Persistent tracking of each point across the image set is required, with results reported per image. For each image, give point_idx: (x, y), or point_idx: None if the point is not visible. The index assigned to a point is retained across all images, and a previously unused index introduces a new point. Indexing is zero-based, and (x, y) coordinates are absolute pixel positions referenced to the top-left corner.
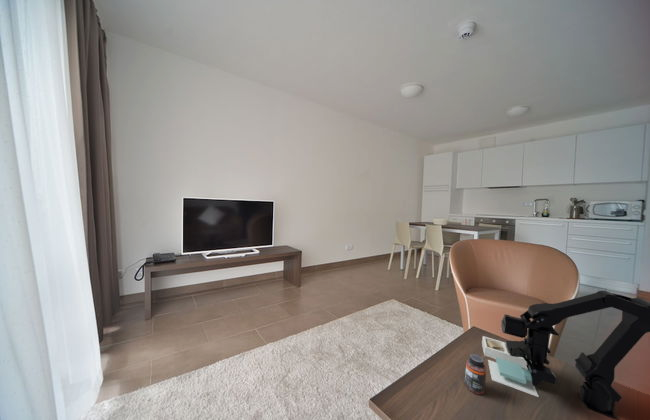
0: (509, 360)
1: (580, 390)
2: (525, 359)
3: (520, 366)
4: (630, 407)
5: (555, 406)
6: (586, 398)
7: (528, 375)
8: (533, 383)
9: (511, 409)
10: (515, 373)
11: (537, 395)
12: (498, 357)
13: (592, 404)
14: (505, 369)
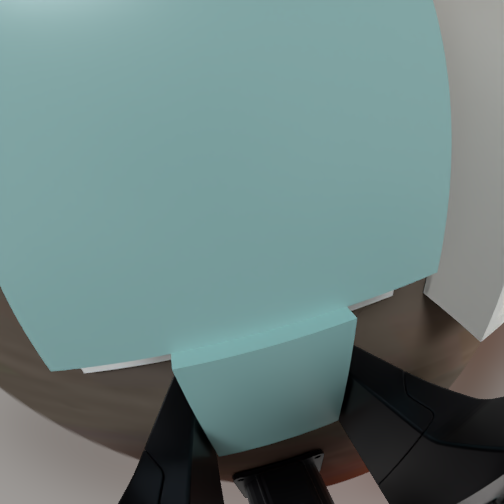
0: (472, 157)
1: (304, 491)
2: (475, 456)
3: (409, 280)
4: (334, 479)
5: (105, 421)
6: (265, 496)
7: (206, 403)
8: (176, 385)
9: None
10: (92, 225)
11: (91, 367)
12: (462, 59)
13: (254, 491)
14: (92, 27)
